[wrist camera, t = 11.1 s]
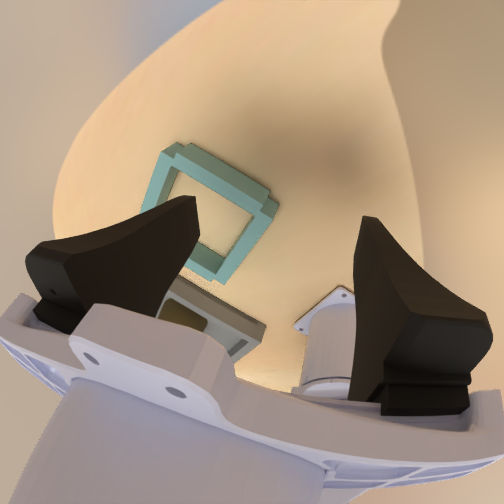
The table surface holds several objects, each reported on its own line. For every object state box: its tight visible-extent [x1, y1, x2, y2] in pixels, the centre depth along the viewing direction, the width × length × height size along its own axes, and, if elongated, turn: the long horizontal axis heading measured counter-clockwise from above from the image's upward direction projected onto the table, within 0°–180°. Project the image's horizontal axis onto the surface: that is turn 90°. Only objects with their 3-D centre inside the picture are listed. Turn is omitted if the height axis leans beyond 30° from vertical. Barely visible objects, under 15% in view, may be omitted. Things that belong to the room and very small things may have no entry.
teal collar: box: [140, 142, 279, 285], centre depth 24 cm, size 10×10×2 cm
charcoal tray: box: [155, 275, 266, 363], centre depth 35 cm, size 16×13×2 cm
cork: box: [157, 298, 208, 333], centre depth 30 cm, size 6×6×11 cm
